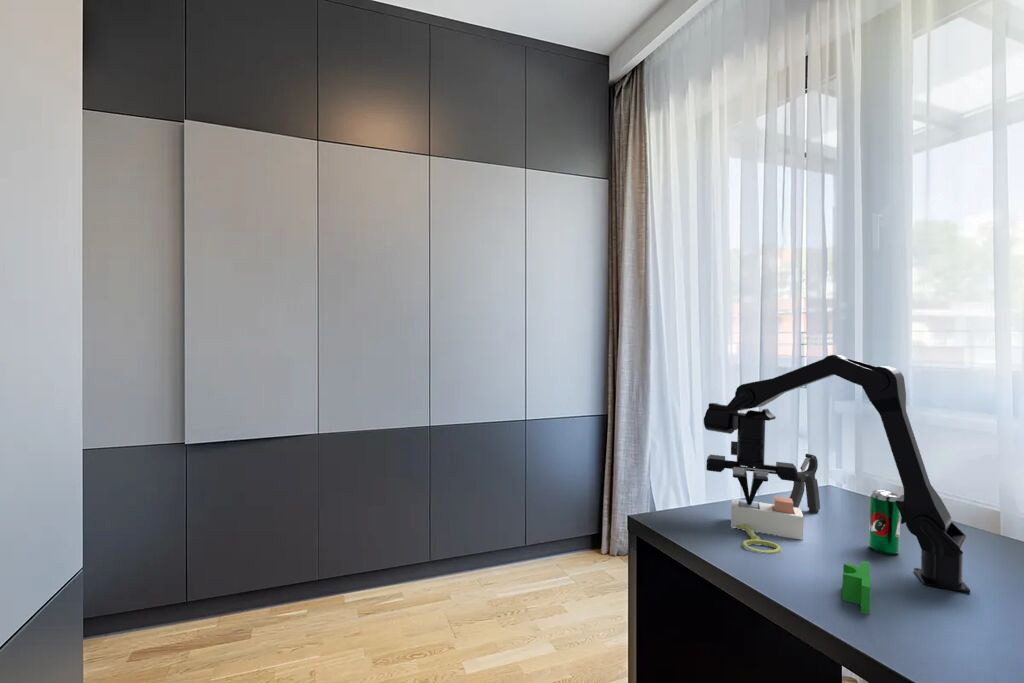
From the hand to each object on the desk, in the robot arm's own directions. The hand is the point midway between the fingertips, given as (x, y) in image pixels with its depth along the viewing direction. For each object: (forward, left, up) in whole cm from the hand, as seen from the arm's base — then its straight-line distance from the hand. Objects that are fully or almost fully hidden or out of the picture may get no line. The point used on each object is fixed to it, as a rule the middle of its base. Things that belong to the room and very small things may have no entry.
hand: (749, 504), depth 117 cm
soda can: (-2, -26, -5) cm, 26 cm away
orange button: (0, -7, -2) cm, 7 cm away
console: (0, -4, -5) cm, 6 cm away
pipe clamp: (-27, -16, -6) cm, 32 cm away
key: (-10, -1, -6) cm, 11 cm away
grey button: (0, 0, -5) cm, 5 cm away
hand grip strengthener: (+15, -12, -5) cm, 20 cm away
